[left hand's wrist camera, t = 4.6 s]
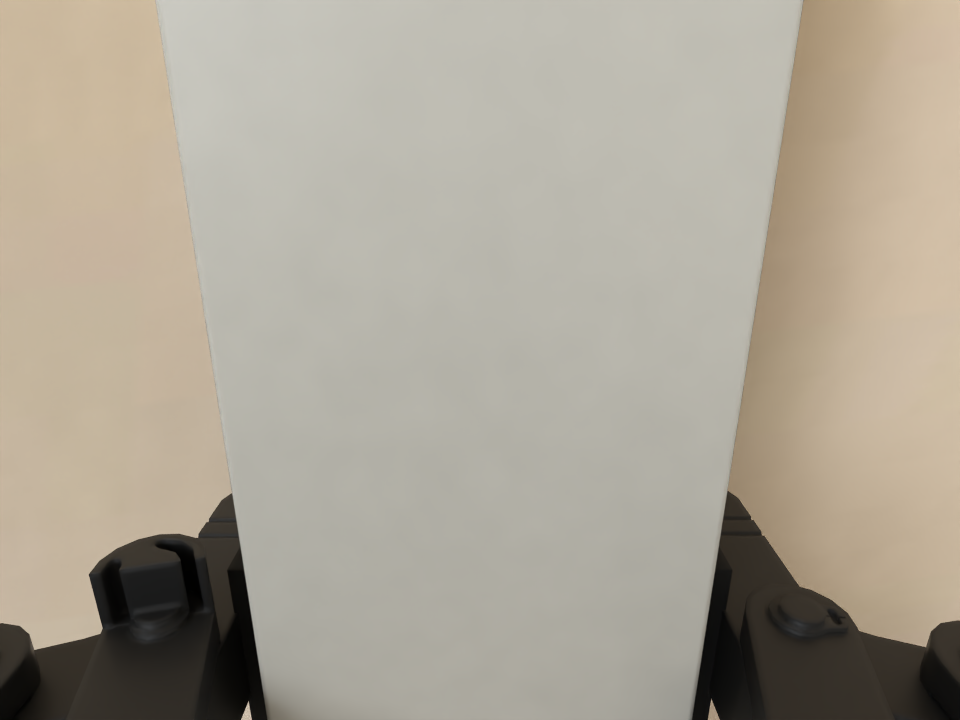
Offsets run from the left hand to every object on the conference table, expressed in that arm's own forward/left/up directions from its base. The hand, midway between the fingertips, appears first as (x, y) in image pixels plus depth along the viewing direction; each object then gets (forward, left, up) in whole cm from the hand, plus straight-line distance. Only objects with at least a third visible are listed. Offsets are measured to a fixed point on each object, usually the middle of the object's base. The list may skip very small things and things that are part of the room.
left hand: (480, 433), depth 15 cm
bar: (+23, +26, -1) cm, 35 cm away
